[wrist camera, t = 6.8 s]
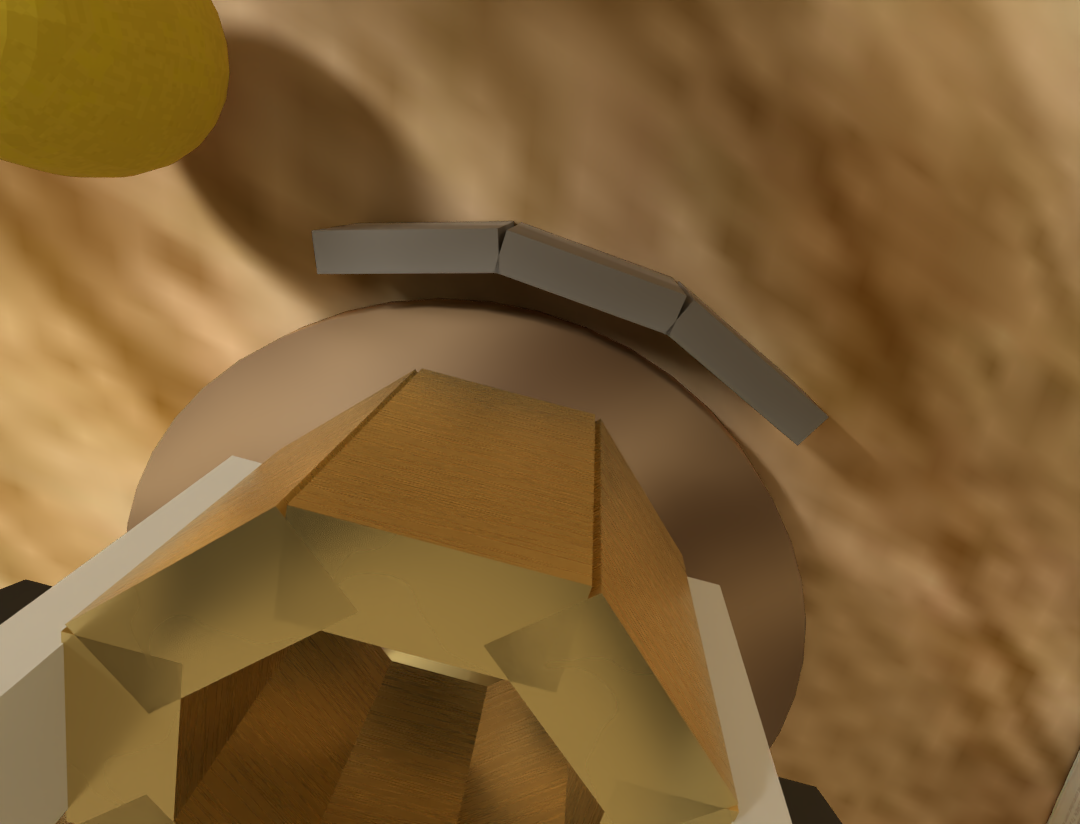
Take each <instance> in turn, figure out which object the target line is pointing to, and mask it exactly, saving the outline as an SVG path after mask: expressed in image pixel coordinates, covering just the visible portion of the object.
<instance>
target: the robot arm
mask: <svg viewBox="0 0 1080 824" xmlns="http://www.w3.org/2000/svg"><path fill="white" fill-rule="evenodd" d="M261 464H262V463H259V462H255V461H251V460H247V459H244V458H240V457H236V456H231V457H230V458H228V459H227V460H225V461H224V462H223V463H221V464H220V465H219V466H217V467H216V468H214V469H213V470H212V471H210V472H209V473H208V474H206V475H205V476H204V477H202V478H201V479H199V480H198V481H197V482H195V483H194V484H193V485H191V486H190V487H188V488H187V489H186V490H184V491H183V492H182V493H180V494H179V495H177V496H176V497H175V498H173V499H172V500H171V501H169V502H168V503H167V504H165V505H164V506H162V507H161V508H160V509H158V510H157V511H156V512H154V513H153V514H151V515H150V516H149V517H147V518H146V519H145V520H143V521H142V522H140V523H139V524H138V525H136V526H135V527H134V528H132V529H131V530H130V531H128V532H127V533H125V534H124V535H123V536H121V537H120V538H119V539H117V540H116V541H114V542H113V543H112V544H110V545H109V546H108V547H106V548H105V549H103V550H102V551H101V552H99V553H98V554H97V555H95V556H94V557H93V558H91V559H90V560H88V561H87V562H86V563H84V564H83V565H82V566H80V567H79V568H77V569H76V570H75V571H73V572H72V573H71V574H69V575H68V576H67V577H65V578H64V579H62V580H61V581H60V582H58V583H57V584H56V585H54V586H53V587H52V586H49V585H45V584H41V583H37V582H33V581H30V580H23V581H21V582H18V583H15V584H13V585H10V586H8V587H5V588H3V589H0V824H55V823H56V822H57V821H58V820H59V819H60V818H61V816H62V815H63V814H64V813H65V812H66V811H67V809H68V797H67V760H66V722H65V684H64V646H63V643H61V631H62V630H63V629H64V628H66V627H67V626H66V625H65V624H66V623H67V622H69V621H70V620H71V619H72V618H73V617H75V616H76V615H77V614H78V613H80V612H81V611H82V610H83V609H85V608H86V607H87V606H88V605H89V604H91V603H92V602H93V601H94V600H96V599H97V598H98V597H99V596H100V595H102V594H103V593H104V592H105V591H107V590H108V589H109V588H110V587H112V586H113V585H114V584H115V583H116V582H118V581H119V580H120V579H121V578H123V577H124V576H125V575H126V574H127V573H129V572H130V571H131V570H132V569H134V568H135V567H136V566H137V565H139V564H140V563H141V562H142V561H143V560H145V559H146V558H147V557H148V556H150V555H151V554H152V553H153V552H154V551H156V550H157V549H158V548H159V547H161V546H162V545H163V544H164V543H166V542H167V541H168V540H169V539H170V538H172V537H173V536H174V535H175V534H177V533H178V532H179V531H180V530H181V529H183V528H184V527H185V526H186V525H188V524H189V523H190V522H191V521H193V520H194V519H195V518H196V517H197V516H199V515H200V514H201V513H202V512H204V511H205V510H206V509H207V508H208V507H210V506H211V505H212V504H213V503H215V502H216V501H217V500H218V499H220V498H221V497H222V496H223V495H224V494H226V493H227V492H228V491H229V490H231V489H232V488H233V487H234V486H235V485H237V484H238V483H239V482H240V481H242V480H243V479H244V478H245V477H247V476H248V475H249V474H250V473H251V472H253V471H254V470H255V469H256V468H258V467H259V466H260V465H261ZM687 578H688V583H689V587H690V592H691V596H692V600H693V605H694V609H695V614H696V618H697V623H698V627H699V631H700V636H701V640H702V645H703V649H704V653H705V658H706V662H707V667H708V671H709V676H710V680H711V684H712V689H713V693H714V698H715V702H716V707H717V711H718V715H719V720H720V724H721V729H722V733H723V737H724V742H725V746H726V751H727V755H728V760H729V764H730V768H731V773H732V777H733V782H734V786H735V791H736V795H737V799H738V804H737V805H738V809H739V813H738V815H737V817H736V819H735V821H734V822H732V823H731V824H842V823H841V821H840V820H839V818H838V817H837V816H836V814H835V813H834V811H833V810H832V809H831V807H830V806H829V804H828V803H827V802H826V800H825V799H824V797H823V796H822V795H821V793H820V792H819V790H818V789H817V788H816V787H814V786H810V785H806V784H803V783H799V782H795V781H791V780H788V779H784V778H780V777H778V775H777V772H776V769H775V765H774V762H773V759H772V756H771V752H770V749H769V746H768V742H767V739H766V736H765V732H764V729H763V726H762V723H761V719H760V716H759V713H758V709H757V706H756V703H755V700H754V696H753V693H752V690H751V686H750V683H749V680H748V677H747V673H746V670H745V667H744V663H743V660H742V657H741V653H740V650H739V647H738V644H737V640H736V637H735V634H734V630H733V627H732V624H731V621H730V617H729V614H728V611H727V607H726V604H725V601H724V598H723V594H722V591H721V588H720V585H717V584H713V583H710V582H706V581H702V580H698V579H695V578H691V577H687Z"/></svg>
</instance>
